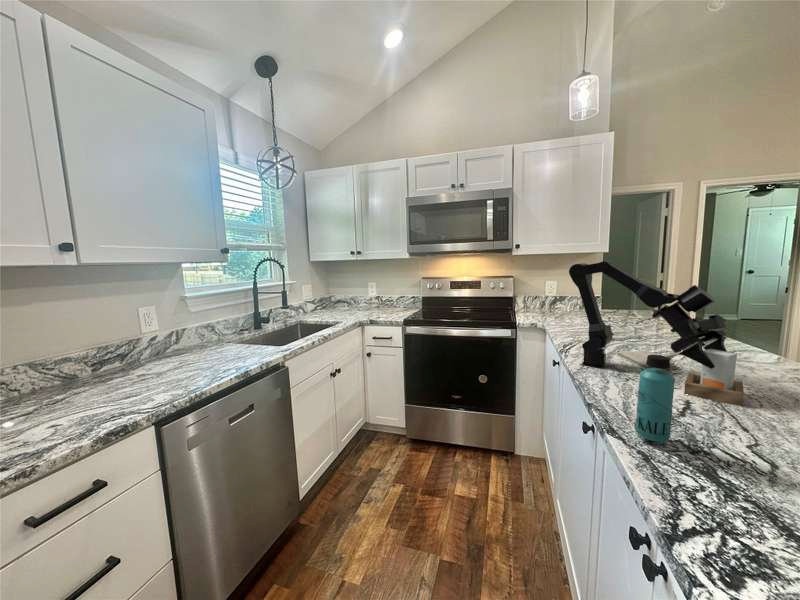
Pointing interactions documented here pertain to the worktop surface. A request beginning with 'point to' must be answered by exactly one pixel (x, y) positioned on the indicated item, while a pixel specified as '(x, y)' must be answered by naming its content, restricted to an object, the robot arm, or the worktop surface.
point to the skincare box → (719, 369)
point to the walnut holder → (714, 390)
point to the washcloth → (641, 358)
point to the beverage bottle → (655, 400)
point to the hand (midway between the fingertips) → (722, 365)
